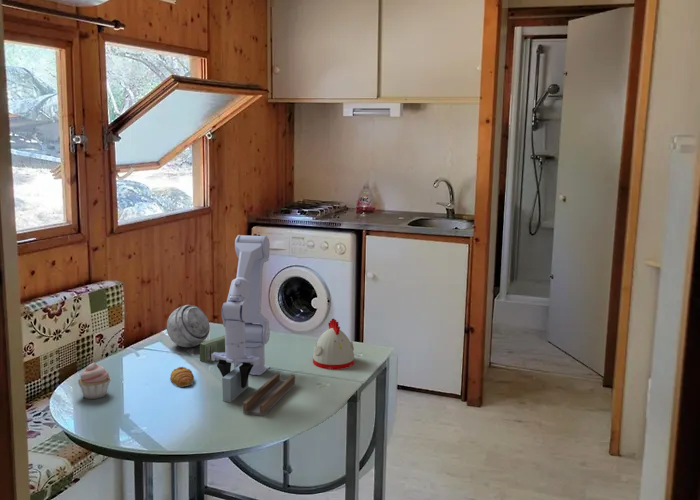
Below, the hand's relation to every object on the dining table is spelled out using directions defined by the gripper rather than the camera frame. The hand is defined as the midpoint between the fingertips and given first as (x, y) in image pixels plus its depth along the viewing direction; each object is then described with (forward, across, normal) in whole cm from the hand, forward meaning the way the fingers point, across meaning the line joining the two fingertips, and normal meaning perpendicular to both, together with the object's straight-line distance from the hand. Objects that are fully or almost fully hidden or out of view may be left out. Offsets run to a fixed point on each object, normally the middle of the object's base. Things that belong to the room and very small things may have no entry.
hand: (235, 385), depth 200 cm
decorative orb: (+3, -35, +34) cm, 49 cm away
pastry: (+3, -20, +4) cm, 20 cm away
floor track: (+2, +11, 0) cm, 11 cm away
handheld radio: (+3, -18, +33) cm, 38 cm away
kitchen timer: (+3, +19, +35) cm, 40 cm away
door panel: (+3, 0, 0) cm, 3 cm away
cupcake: (+3, -38, -14) cm, 41 cm away
